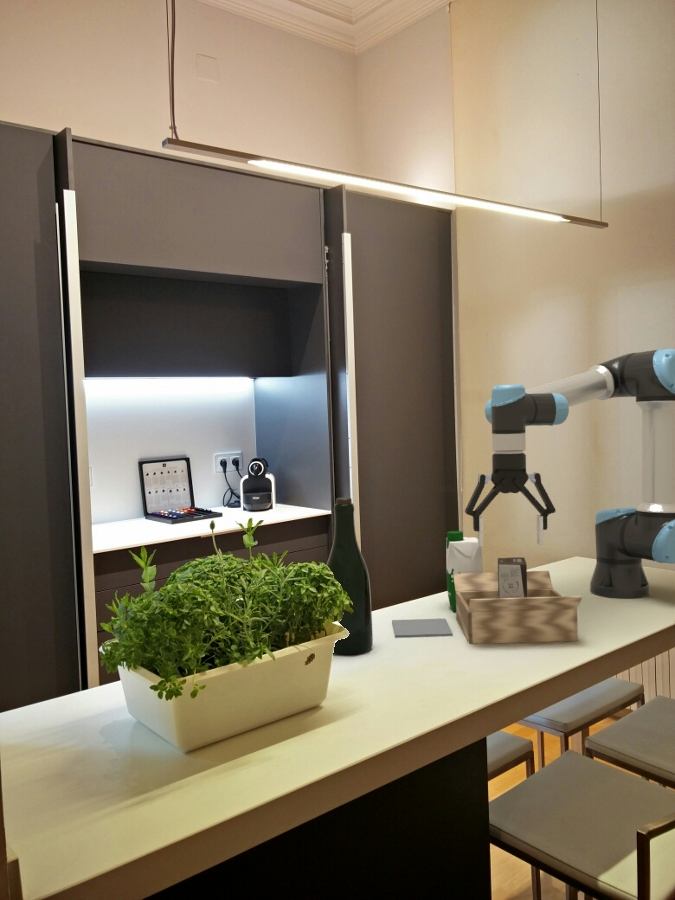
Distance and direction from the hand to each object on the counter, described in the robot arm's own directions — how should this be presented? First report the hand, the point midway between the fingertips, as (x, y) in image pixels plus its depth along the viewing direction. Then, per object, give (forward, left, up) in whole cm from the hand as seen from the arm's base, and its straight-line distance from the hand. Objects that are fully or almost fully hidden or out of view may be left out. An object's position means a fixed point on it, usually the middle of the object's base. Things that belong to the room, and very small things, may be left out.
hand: (510, 545), depth 173 cm
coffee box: (0, 0, -20) cm, 20 cm away
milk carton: (+8, -20, -20) cm, 29 cm away
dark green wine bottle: (+38, +11, -20) cm, 44 cm away
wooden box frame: (0, 0, -20) cm, 20 cm away
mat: (+21, -3, -20) cm, 29 cm away
